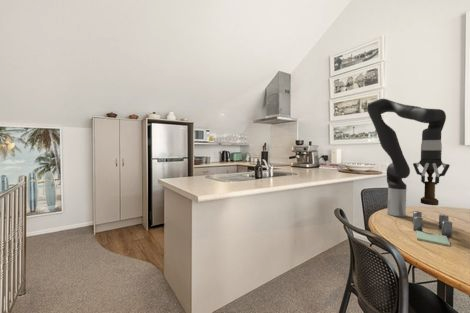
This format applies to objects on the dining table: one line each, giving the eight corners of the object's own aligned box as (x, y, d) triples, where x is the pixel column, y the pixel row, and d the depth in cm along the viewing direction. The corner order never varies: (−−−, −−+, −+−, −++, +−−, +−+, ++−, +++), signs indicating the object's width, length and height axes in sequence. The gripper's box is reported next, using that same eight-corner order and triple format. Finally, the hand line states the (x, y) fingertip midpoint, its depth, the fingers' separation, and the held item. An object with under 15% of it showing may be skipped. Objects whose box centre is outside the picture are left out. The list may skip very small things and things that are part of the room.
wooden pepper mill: (434, 202, 108) (435, 167, 107) (441, 206, 102) (442, 169, 101) (418, 201, 110) (419, 167, 110) (423, 204, 104) (425, 168, 104)
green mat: (416, 239, 99) (417, 237, 99) (416, 231, 108) (416, 230, 108) (450, 246, 92) (450, 244, 92) (446, 237, 101) (446, 236, 101)
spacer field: (413, 231, 109) (413, 217, 109) (412, 222, 121) (413, 210, 121) (452, 238, 100) (453, 223, 100) (447, 228, 112) (448, 215, 112)
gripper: (412, 149, 107) (411, 183, 108) (452, 149, 97) (450, 186, 98) (412, 149, 112) (411, 181, 113) (450, 149, 103) (449, 184, 104)
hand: (429, 183), depth 106 cm, fingers closed on wooden pepper mill, 4 cm apart
